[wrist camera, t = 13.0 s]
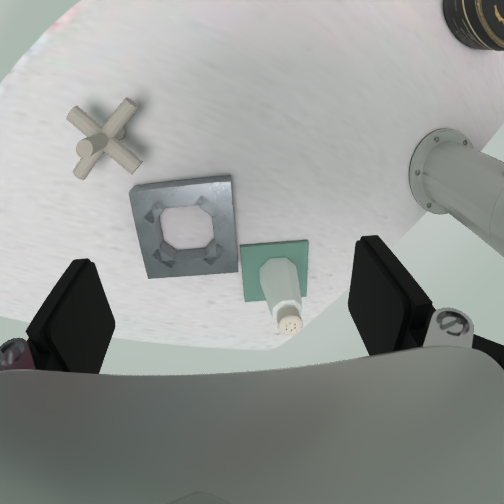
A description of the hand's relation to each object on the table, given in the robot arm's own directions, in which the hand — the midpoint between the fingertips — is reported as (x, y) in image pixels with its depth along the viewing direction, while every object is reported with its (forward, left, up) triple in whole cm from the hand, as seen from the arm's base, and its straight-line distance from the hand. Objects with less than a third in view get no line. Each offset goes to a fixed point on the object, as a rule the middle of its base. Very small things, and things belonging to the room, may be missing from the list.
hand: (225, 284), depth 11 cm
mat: (-5, +18, -28) cm, 34 cm away
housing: (+6, +10, -28) cm, 31 cm away
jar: (-34, -20, -29) cm, 49 cm away
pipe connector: (+13, -3, -28) cm, 31 cm away
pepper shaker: (-5, +18, -28) cm, 34 cm away
